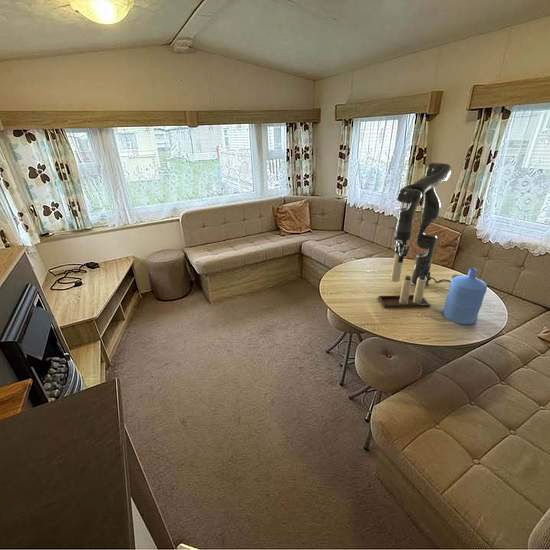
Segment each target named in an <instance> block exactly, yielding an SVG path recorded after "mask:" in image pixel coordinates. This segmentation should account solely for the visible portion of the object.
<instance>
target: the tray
mask: <svg viewBox="0 0 550 550" xmlns="http://www.w3.org/2000/svg"><path fill="white" fill-rule="evenodd" d="M377 298H378V300H379V302H380V303H381V305H382V307H383V308H384V309H386V308H387V309H388V308H391V309H392V308H429V307H431V304H430V302H429V301H428V300H427V299H426V298H425V296H423V298H422V302H421V304H416V303H414V302H413V298H414V294H409V298H408V303H407V304H401V303H400V302H399V299H400V294H399V295H378V297H377Z"/></svg>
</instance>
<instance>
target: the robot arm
mask: <svg viewBox="0 0 550 550" xmlns="http://www.w3.org/2000/svg"><path fill="white" fill-rule="evenodd" d="M451 173H452V167H451V165H450V164H449V163H446V162H445V163H443V162H430V163H428V164H427V166H426V169H425V173H424V177H422V178H419V179H418V180H416V181H415V182H414V183H412V184H409V185H406V186H404V187H402V188H401V189H399V191H398V192H397V194H396V198H397V201H398V202H399V203H401V204H407V205H409V207H401V208H400V209H399V210H398V216H397V221H396V226H395V231H394V238H393V250H394V254H395V253H397V251H399V259H398V262H399V263H402V262H403V263H404V257H407V256H408V252H409V250H410V246H408V245H407V244H408V241H409V240H411V237H412V233H413V232H412V230H413V227H414V226H413V224H414V217H415V213H416V210H417V207H418V206H419V204H420V202H421V199H422V204H421V210H420V219H419V227H418V232H417V236H416V241H415V247H416V248H417V249H421V250H425V251H423V252H418V253H417V254H416V255H415V259H414V264H413V269H412V275H411V279H412V284H411V286H415V287H416V283H417V279H418V277H420V276H421V275H423V276H425V278H426V279H427V280H426V285H425V287H426V286H428V285H429V282H430V281H431V280H434V282H435V283H440V282H442V281H445V282H450V283H451V281H452V280H450V279H445V278H444V279H443V278H442V279H440V280H436V278H434V277H432V276H431V274H432V273H431V266H432V263H433V262H432V261H433V258H434V253H435V250H436V246H437V243H438V236H437V235H434V234H428V233H425V232H426V230H427V229H428V227H429V226H431V224H432V223H433V222H434V221H435V220H436V219H438V217H439V216H440V209H441V201H440V199H439V196H438V195H437V193H436V190H435V187H437V186H438V185H440V184H442V183H445V182H446V181H447V180H448V179H449V177H450V175H451ZM422 197H423V198H422Z"/></svg>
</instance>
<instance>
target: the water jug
mask: <svg viewBox="0 0 550 550" xmlns="http://www.w3.org/2000/svg"><path fill="white" fill-rule="evenodd" d="M477 271H478V269H477V268H474V267H470V268H469V269H468V272H467V275H464V276H456V277H454V278H453V279H452V278H451V280H450V281H451V282H450V284H449V289H448V293H447V295H446V299H445V304H444V307H443V309H442V314H443V316H444V317H445V318H446V319H447V320H449V321H451V322H452V323H456V324H459V325H473V324H475V323H476V322H477V320H478V317H479V316H478V315H479V313H480V310H481V308H482V304H483V300H484V297H485V295H486V293H487V288H488V284H487V283H486V282H485V281H484V280H482V279H480V278H477V277H476V274H477Z"/></svg>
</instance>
